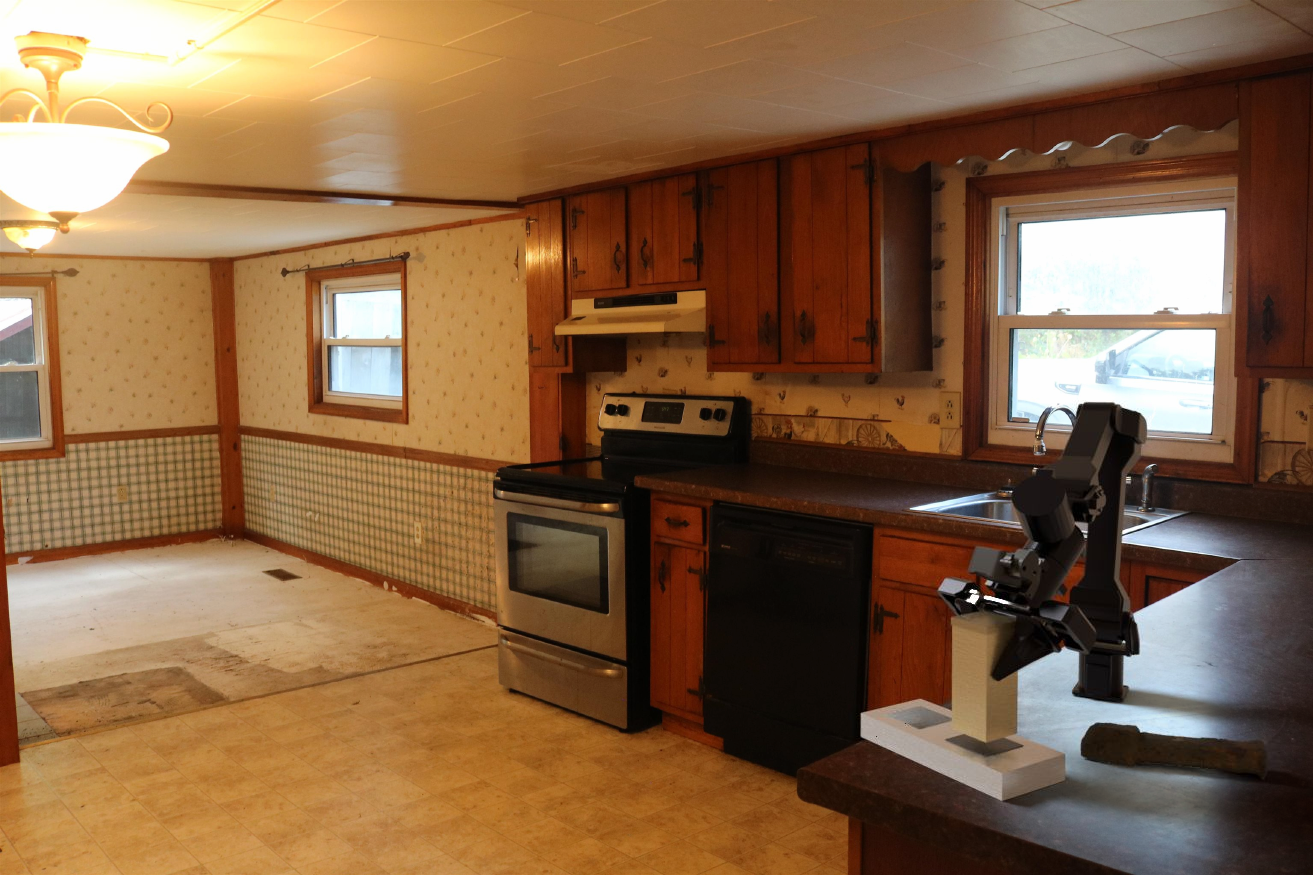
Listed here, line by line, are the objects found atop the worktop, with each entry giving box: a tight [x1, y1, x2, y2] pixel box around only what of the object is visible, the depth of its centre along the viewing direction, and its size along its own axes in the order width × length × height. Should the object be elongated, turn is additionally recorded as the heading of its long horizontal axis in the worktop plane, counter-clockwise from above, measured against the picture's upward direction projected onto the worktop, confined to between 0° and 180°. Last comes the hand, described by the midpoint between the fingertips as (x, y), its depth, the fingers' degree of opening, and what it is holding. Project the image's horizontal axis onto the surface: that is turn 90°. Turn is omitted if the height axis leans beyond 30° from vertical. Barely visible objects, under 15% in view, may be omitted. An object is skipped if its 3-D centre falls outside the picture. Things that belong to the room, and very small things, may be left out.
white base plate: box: [860, 698, 1066, 802], centre depth 120 cm, size 10×22×3 cm, turn 30°
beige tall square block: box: [950, 611, 1019, 743], centre depth 116 cm, size 5×5×13 cm
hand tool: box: [1080, 721, 1268, 781], centre depth 117 cm, size 19×4×5 cm, turn 71°
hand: (976, 672), depth 115 cm, fingers closed on beige tall square block, 5 cm apart
